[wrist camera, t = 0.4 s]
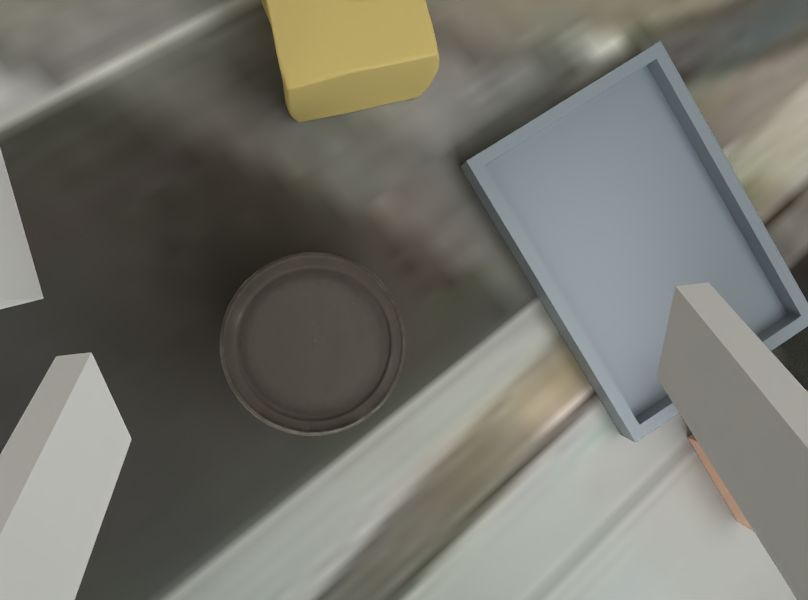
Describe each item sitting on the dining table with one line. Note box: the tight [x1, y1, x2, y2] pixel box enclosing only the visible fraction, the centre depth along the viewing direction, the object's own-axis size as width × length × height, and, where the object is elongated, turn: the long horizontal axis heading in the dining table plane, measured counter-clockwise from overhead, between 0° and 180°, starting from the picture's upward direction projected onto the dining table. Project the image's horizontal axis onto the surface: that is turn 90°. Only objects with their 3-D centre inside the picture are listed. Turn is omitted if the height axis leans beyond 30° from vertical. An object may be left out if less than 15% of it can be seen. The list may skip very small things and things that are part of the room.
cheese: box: [261, 0, 439, 122], centre depth 44 cm, size 10×11×10 cm
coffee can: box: [220, 252, 406, 436], centre depth 42 cm, size 10×10×14 cm
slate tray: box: [460, 41, 808, 442], centre depth 50 cm, size 26×18×2 cm
